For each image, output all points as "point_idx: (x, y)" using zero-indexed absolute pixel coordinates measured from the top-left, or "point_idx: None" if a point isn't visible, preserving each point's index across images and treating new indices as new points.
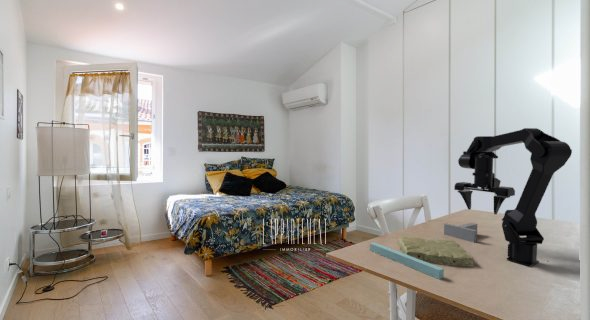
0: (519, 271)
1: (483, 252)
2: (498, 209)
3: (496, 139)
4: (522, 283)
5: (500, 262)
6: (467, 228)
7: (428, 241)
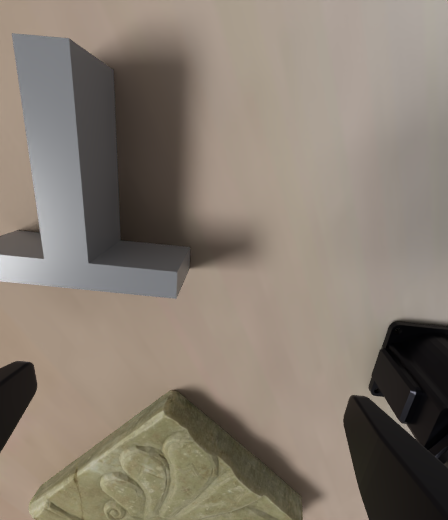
0: None
1: (277, 369)
2: (423, 466)
3: None
4: None
5: None
6: (118, 273)
7: (125, 505)
